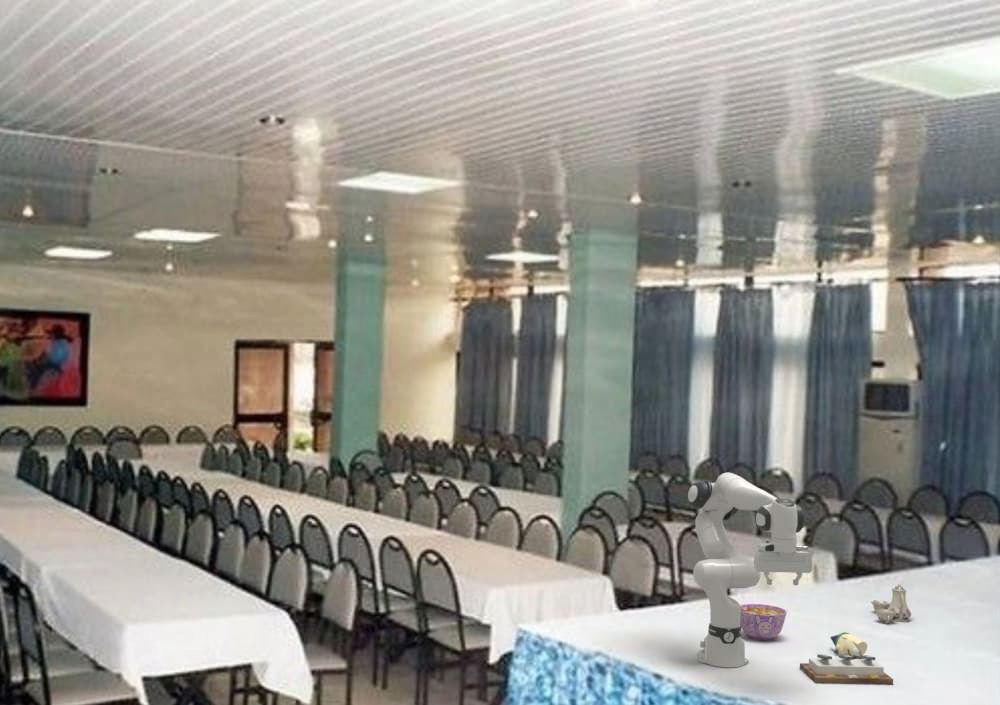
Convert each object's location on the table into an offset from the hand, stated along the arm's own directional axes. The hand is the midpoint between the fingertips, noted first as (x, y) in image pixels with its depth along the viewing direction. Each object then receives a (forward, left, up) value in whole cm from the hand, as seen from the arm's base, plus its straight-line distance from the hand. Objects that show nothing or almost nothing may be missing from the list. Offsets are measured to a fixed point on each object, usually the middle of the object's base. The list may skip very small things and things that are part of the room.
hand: (782, 584), depth 395 cm
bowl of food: (-63, +12, -35) cm, 73 cm away
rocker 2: (-10, +28, -28) cm, 41 cm away
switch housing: (-10, +28, -33) cm, 44 cm away
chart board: (-10, +28, -35) cm, 46 cm away
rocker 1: (-10, +20, -28) cm, 36 cm away
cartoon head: (-39, +39, -35) cm, 65 cm away
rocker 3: (-10, +36, -28) cm, 47 cm away
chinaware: (-100, +81, -36) cm, 134 cm away
